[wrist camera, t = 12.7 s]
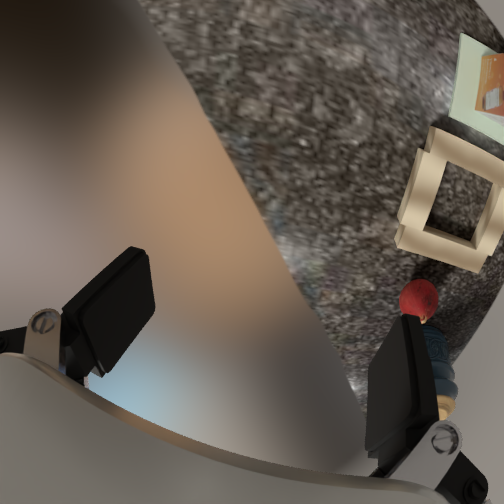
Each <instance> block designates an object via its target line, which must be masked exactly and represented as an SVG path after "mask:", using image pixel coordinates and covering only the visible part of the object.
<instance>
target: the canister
mask: <svg viewBox="0 0 504 504" xmlns="http://www.w3.org/2000/svg"><path fill="white" fill-rule="evenodd" d="M422 328H423V332H424V337H425V341H426V346H427V351H428V355H429V357H430V359H431V363H432V369H433V374H434V380H435V387H436V393H437V401H438V409H439V418H440V420H445V419H446V418H447V417H448V416H449V415H450V414H451V413H452V412H453V410H454V409H455V401H454V400H455V399H456V397H457V394H458V387H457V385H456V384H455V383H454V382H453V381H454V378H455V373H454V370H453V368H452V363H451V359H450V355H449V351H448V344H447V340H446V338H445V337H444V335H443V333H442V332H441V331H440V330H439V329H437V328H435V327H433V326H428V325H422Z"/></svg>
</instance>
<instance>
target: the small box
mask: <svg viewBox="0 0 504 504" xmlns="http://www.w3.org/2000/svg"><path fill="white" fill-rule="evenodd" d="M475 111H477V112H479V113H480V114H482V115H484V116H486V117H488V118H489V119H491V120H493V121H495V122H496V123H498V124H500V125H502V126H503V127H504V53H500V54H492V55H486V56H482V57H481V72H480V80H479V87H478V93H477V99H476V104H475Z"/></svg>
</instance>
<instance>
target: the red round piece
mask: <svg viewBox="0 0 504 504" xmlns="http://www.w3.org/2000/svg"><path fill="white" fill-rule="evenodd" d="M399 303H400V309H401V311H402V312H403V314H404V313H407V314H411V315H416V316H419V317H420V320H421V324H423V323H425V322H426V321H427V320H428V319H429V318H430V317H431V316H432V315H433V314H434V313H435V311H436V309H437V306H438V293H437V291H436V289H435V287H434V285H433V284H432V283H431V282H429V281H428V280H426V279H416V280H413V281H411V282H409V283H408V284H407V285H406V286H405V287H404V288H403V290H402V291H401V294H400V297H399Z"/></svg>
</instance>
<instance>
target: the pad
mask: <svg viewBox="0 0 504 504" xmlns="http://www.w3.org/2000/svg"><path fill="white" fill-rule="evenodd" d="M492 54H498V53H496V52H495V51H493V50H492V49H490V48H488V47H487V46H485V45H483V44H482V43H480V42H478V41H476V40H475V39H473V38H471V37H469V36H467V35H465V34H463V33H460V41H459V51H458V60H457V68H456V75H455V82H454V88H453V93H452V99H451V104H450V109H449V114H448V117H450V118H453V119H455V120H457V121H459V122H461V123H463V124H465V125H467V126H469V127H471V128H473V129H475V130H477V131H479V132H481V133H483V134H484V135H486V136H488V137H490V138H492V139H493V140H495V141H497V142H498V143H500V144H502V145H503V146H504V127H503V126H502V125H500V124H498V123H496V122H495V121H493V120H491V119H489V118H488V117H486V116H484V115H482V114H480V113H479V112H477V111H475V104H476V99H477V93H478V87H479V80H480V72H481V57H482V56H486V55H492Z"/></svg>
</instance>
